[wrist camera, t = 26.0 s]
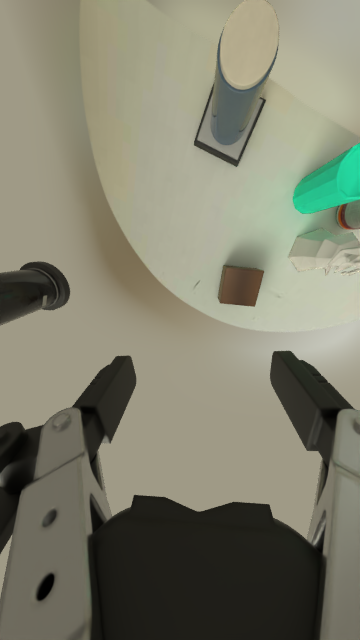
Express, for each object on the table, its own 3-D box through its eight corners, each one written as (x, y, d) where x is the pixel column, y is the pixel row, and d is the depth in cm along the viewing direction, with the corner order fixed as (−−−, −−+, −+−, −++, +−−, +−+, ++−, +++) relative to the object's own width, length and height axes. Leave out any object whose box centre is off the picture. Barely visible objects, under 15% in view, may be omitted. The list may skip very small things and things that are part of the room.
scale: (194, 145, 29) (193, 140, 28) (216, 79, 26) (217, 70, 25) (236, 166, 30) (238, 163, 28) (263, 105, 26) (267, 97, 25)
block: (217, 297, 39) (219, 303, 35) (223, 265, 36) (226, 267, 32) (249, 300, 38) (254, 306, 35) (257, 268, 36) (264, 270, 32)
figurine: (283, 268, 35) (358, 288, 19) (301, 224, 32) (412, 201, 16) (317, 275, 35) (423, 301, 19) (339, 231, 32) (490, 217, 15)
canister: (207, 144, 28) (213, 87, 18) (213, 92, 26) (223, -8, 15) (244, 146, 28) (271, 89, 17) (253, 94, 25) (290, -8, 15)
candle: (285, 194, 31) (335, 164, 20) (319, 163, 28) (396, 111, 18) (303, 221, 32) (360, 209, 21) (337, 194, 30) (418, 163, 19)
